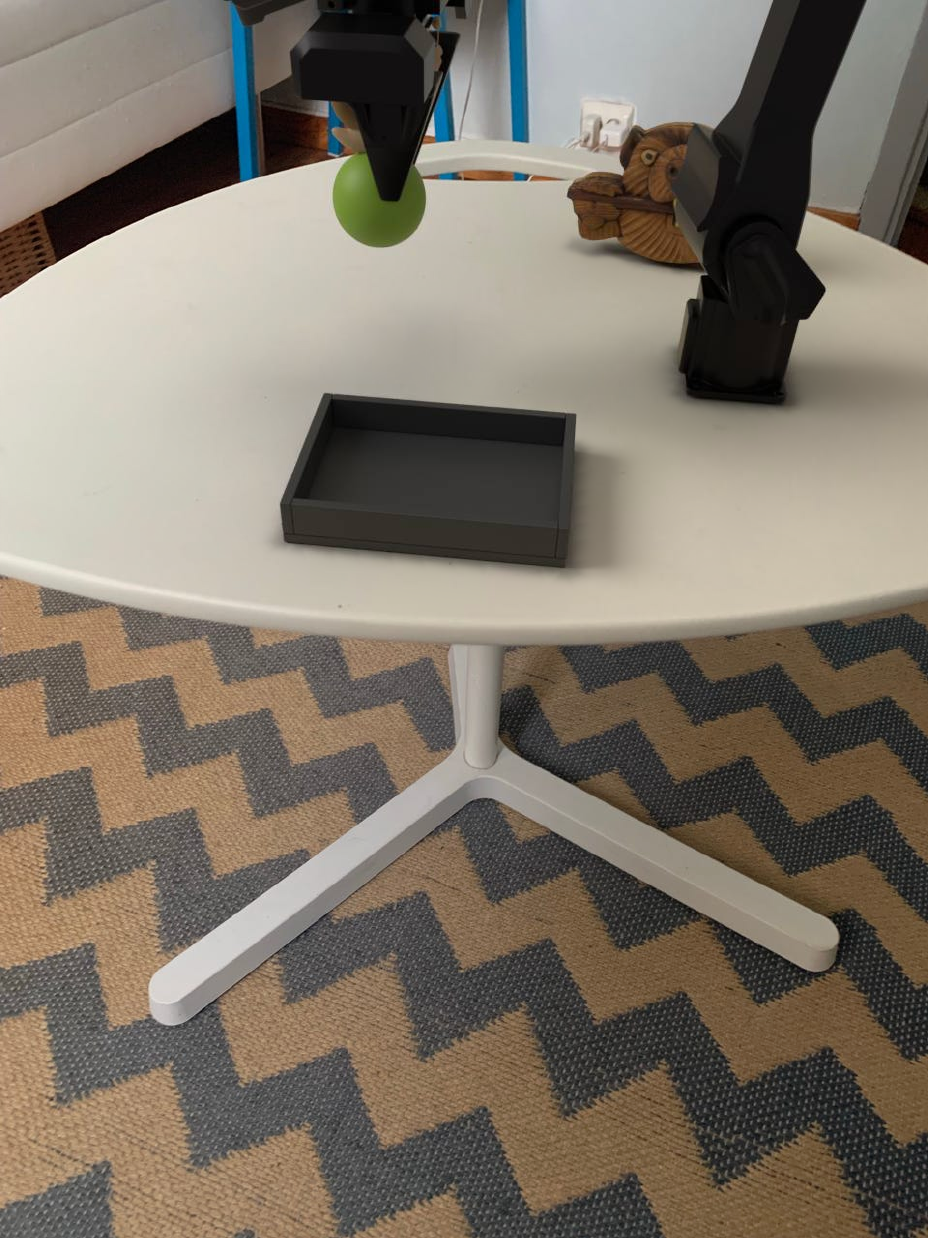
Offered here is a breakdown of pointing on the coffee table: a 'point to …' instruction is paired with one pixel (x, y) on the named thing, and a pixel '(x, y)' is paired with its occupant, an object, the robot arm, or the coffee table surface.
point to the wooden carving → (638, 195)
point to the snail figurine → (359, 193)
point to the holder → (434, 480)
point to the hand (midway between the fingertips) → (395, 188)
